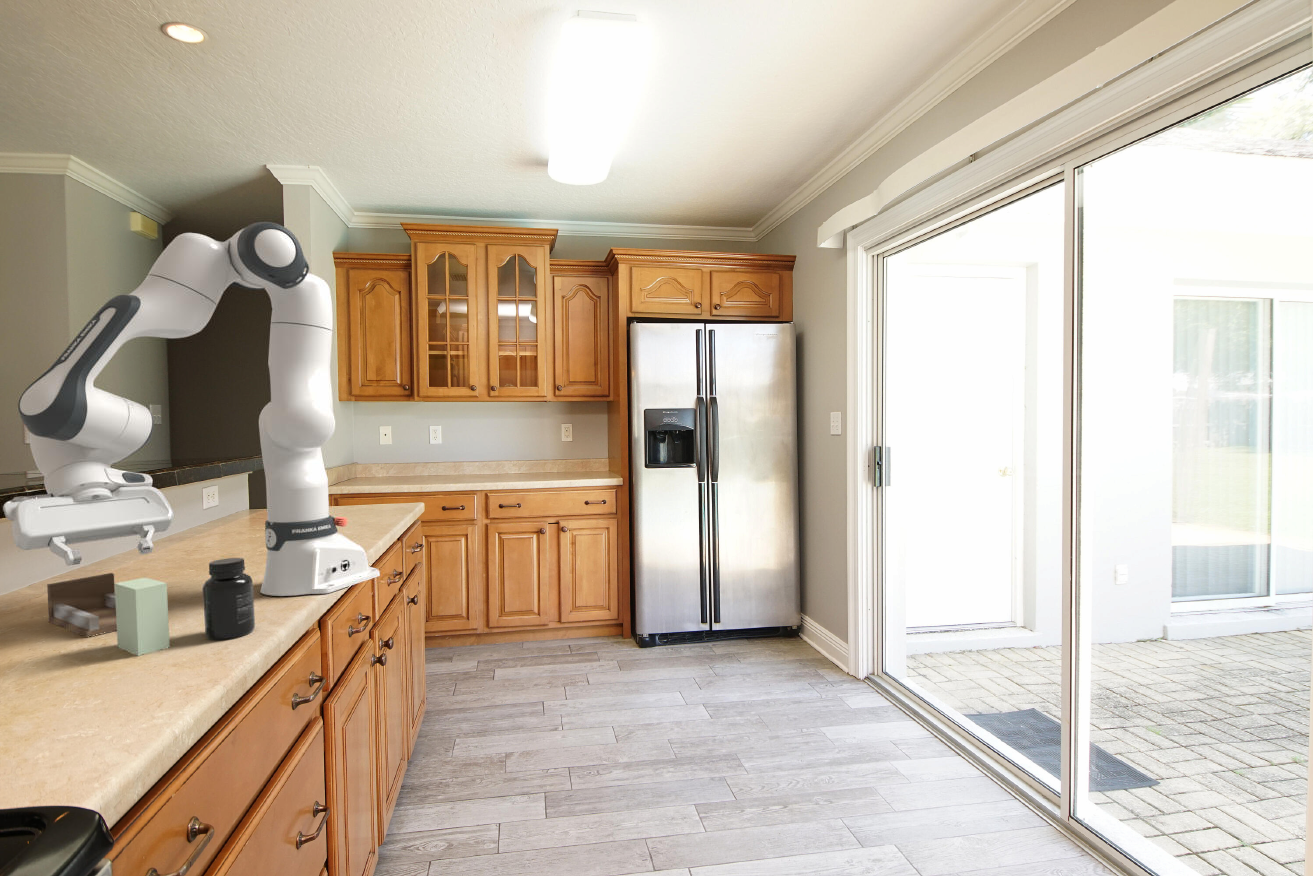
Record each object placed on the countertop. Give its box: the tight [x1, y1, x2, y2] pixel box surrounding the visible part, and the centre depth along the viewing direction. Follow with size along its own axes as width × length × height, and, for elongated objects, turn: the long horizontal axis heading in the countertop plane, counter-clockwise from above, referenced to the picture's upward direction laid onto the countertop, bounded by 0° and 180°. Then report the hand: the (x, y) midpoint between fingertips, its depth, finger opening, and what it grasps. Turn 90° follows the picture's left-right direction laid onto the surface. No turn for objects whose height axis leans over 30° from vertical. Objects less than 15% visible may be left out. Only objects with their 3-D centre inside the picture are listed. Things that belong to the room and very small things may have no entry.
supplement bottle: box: [202, 557, 256, 641], centre depth 107 cm, size 7×7×12 cm
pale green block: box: [114, 577, 170, 657], centre depth 101 cm, size 7×4×10 cm, turn 59°
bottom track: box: [46, 572, 117, 638], centre depth 113 cm, size 16×9×6 cm, turn 59°
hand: (112, 556), depth 105 cm, fingers open, 8 cm apart
